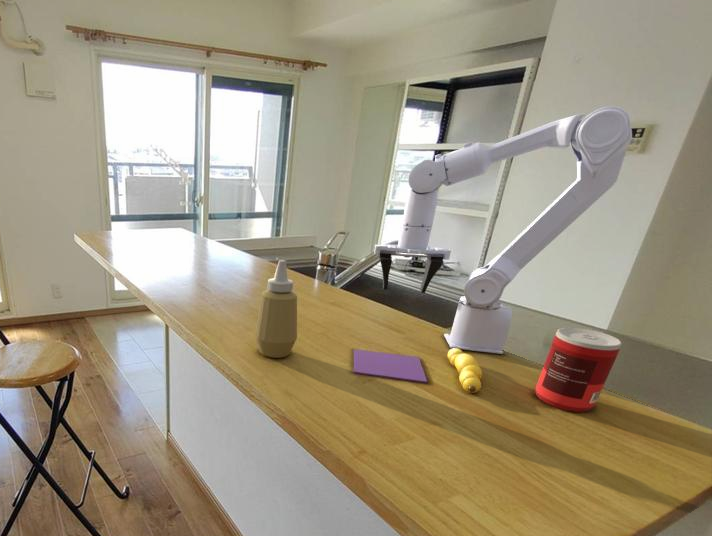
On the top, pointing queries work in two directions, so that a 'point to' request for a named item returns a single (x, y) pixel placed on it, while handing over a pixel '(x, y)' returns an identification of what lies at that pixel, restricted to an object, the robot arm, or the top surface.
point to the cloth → (388, 365)
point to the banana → (466, 370)
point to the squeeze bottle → (277, 316)
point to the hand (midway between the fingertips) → (403, 290)
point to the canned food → (577, 368)
